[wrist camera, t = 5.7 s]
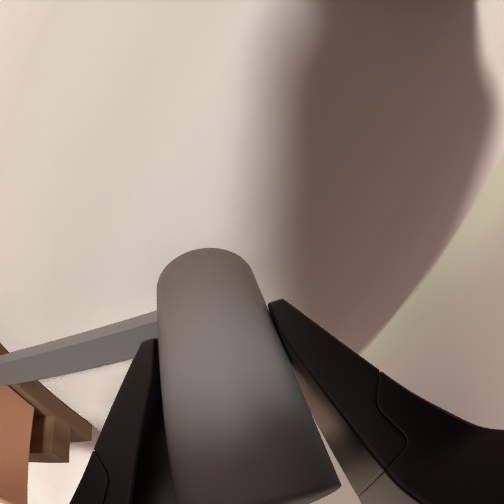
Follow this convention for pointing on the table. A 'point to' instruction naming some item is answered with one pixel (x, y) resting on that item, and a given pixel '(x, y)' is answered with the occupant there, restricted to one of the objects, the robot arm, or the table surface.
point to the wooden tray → (50, 423)
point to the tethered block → (194, 390)
